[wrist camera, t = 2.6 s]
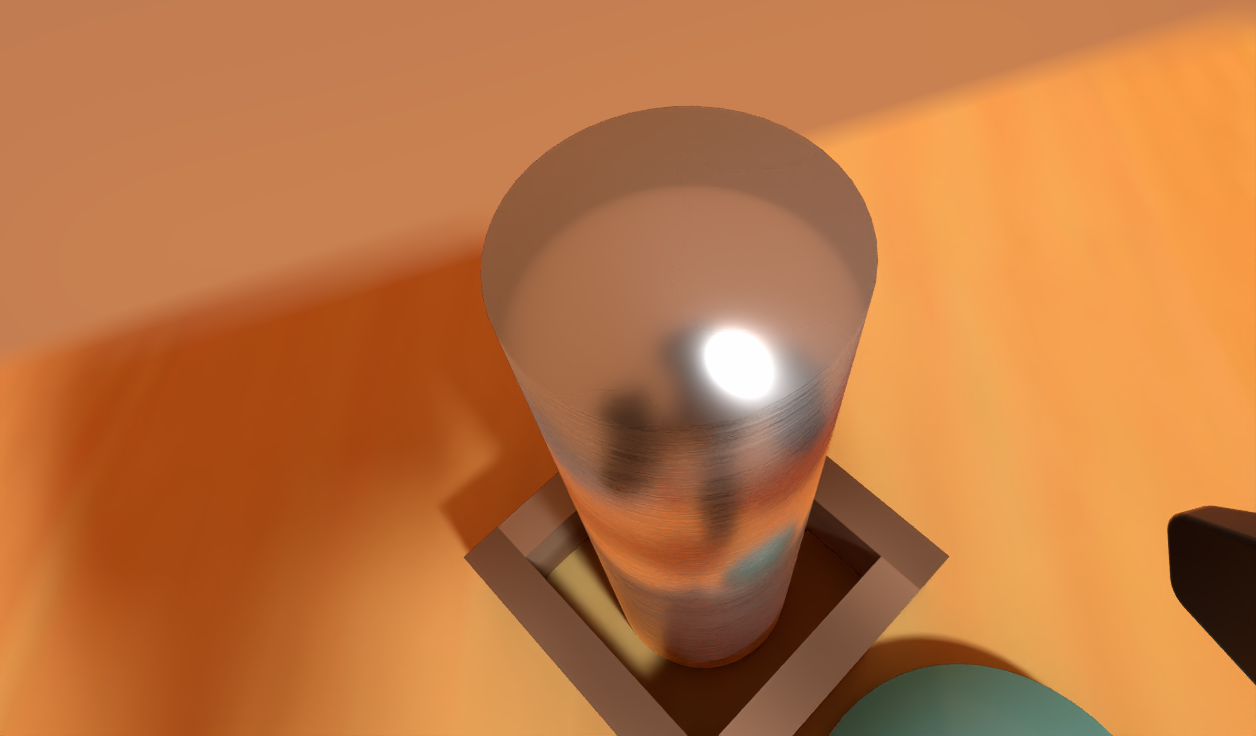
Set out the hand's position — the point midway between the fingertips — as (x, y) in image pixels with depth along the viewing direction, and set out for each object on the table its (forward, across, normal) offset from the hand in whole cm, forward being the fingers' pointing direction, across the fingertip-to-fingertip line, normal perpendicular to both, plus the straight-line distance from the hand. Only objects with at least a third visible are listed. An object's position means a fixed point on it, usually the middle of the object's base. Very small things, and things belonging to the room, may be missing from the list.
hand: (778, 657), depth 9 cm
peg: (+10, 0, +5) cm, 11 cm away
